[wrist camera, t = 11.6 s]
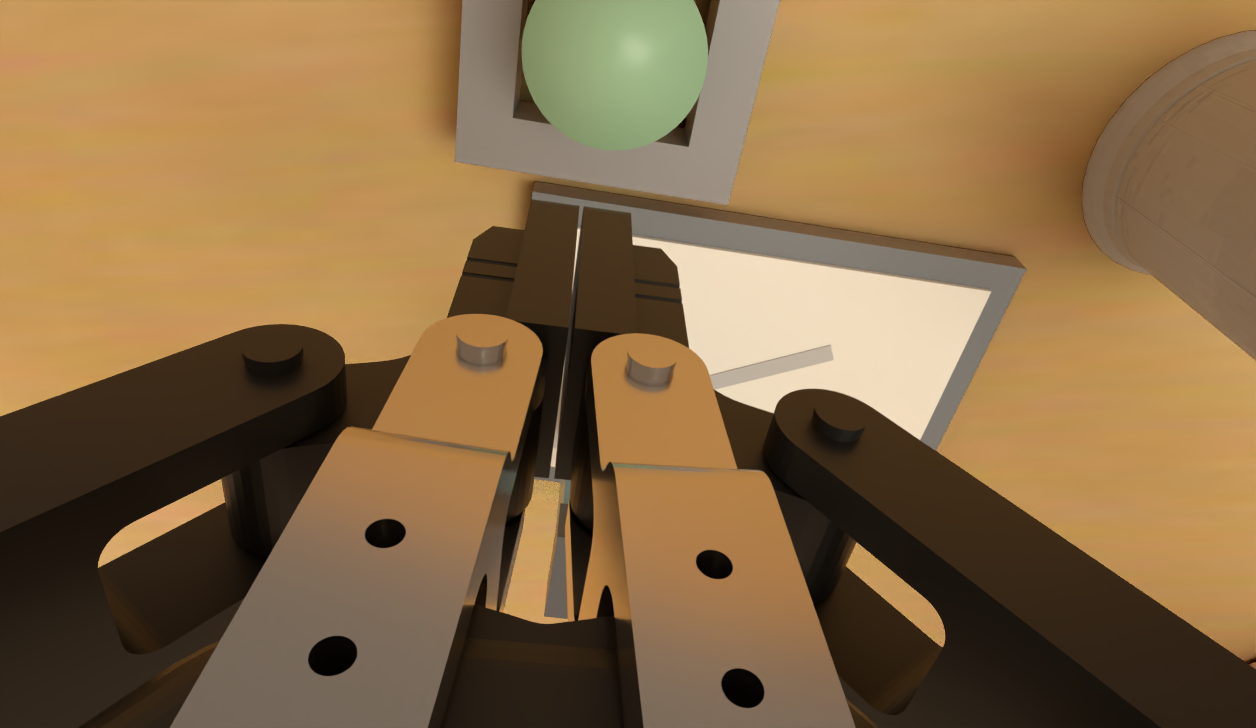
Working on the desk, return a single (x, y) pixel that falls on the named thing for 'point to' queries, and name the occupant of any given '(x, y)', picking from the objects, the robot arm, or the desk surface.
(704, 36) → the button
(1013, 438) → the desk surface
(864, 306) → the whiteboard
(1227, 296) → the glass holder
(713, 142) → the button housing
